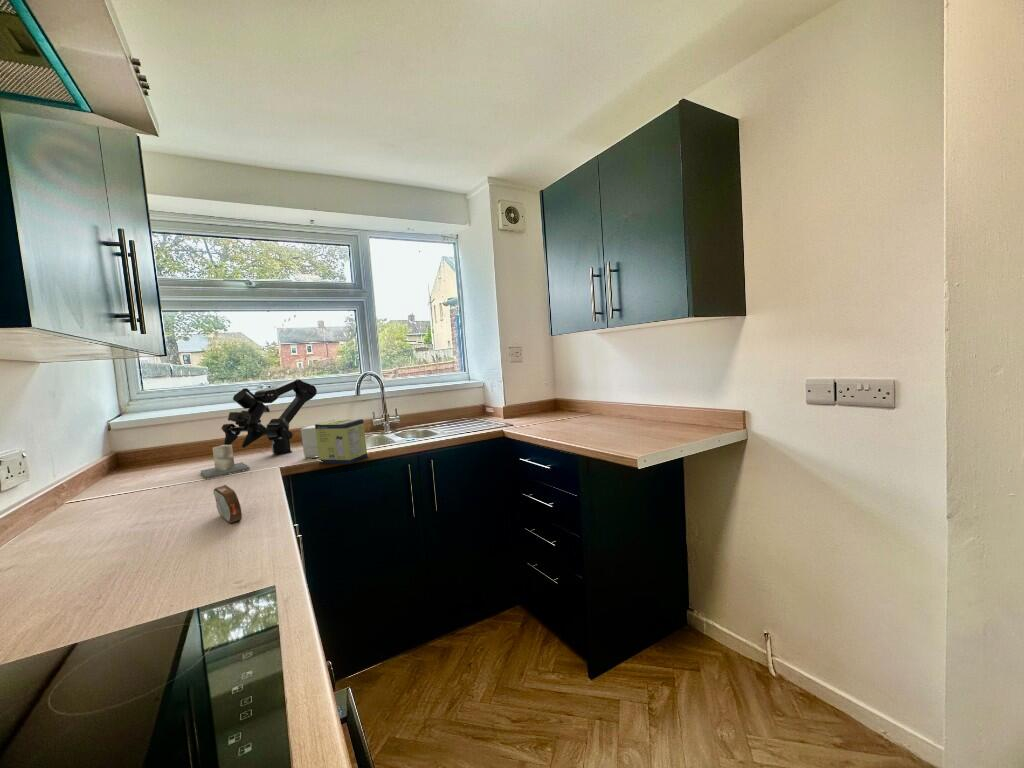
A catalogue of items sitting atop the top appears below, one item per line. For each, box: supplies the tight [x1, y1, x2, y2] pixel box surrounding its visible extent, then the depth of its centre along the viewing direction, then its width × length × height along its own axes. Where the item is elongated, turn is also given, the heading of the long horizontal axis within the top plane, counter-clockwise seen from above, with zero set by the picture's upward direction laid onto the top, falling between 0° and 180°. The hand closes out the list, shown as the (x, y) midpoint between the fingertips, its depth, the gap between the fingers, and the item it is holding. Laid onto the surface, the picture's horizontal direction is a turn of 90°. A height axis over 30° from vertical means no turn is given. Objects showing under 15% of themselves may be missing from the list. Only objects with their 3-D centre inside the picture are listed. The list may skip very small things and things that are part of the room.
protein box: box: [314, 418, 368, 465], centre depth 170 cm, size 10×16×16 cm
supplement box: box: [300, 424, 319, 458], centre depth 182 cm, size 7×7×13 cm
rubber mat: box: [200, 461, 251, 479], centre depth 167 cm, size 14×14×1 cm
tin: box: [213, 484, 243, 524], centre depth 113 cm, size 15×3×8 cm, turn 47°
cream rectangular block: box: [212, 444, 235, 471], centre depth 166 cm, size 4×4×9 cm
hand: (233, 447), depth 171 cm, fingers open, 9 cm apart
